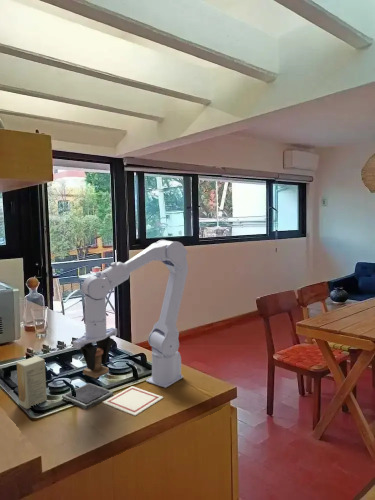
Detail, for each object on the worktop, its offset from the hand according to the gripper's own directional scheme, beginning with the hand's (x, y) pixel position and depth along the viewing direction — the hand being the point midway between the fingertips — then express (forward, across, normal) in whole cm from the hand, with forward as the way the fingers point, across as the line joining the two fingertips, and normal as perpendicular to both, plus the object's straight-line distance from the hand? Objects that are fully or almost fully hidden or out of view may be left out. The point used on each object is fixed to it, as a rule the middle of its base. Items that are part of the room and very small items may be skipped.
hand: (96, 366), depth 110 cm
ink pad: (+9, +1, -2) cm, 10 cm away
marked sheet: (+9, -5, +10) cm, 14 cm away
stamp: (+2, 0, 0) cm, 2 cm away
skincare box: (+9, +12, -12) cm, 20 cm away
